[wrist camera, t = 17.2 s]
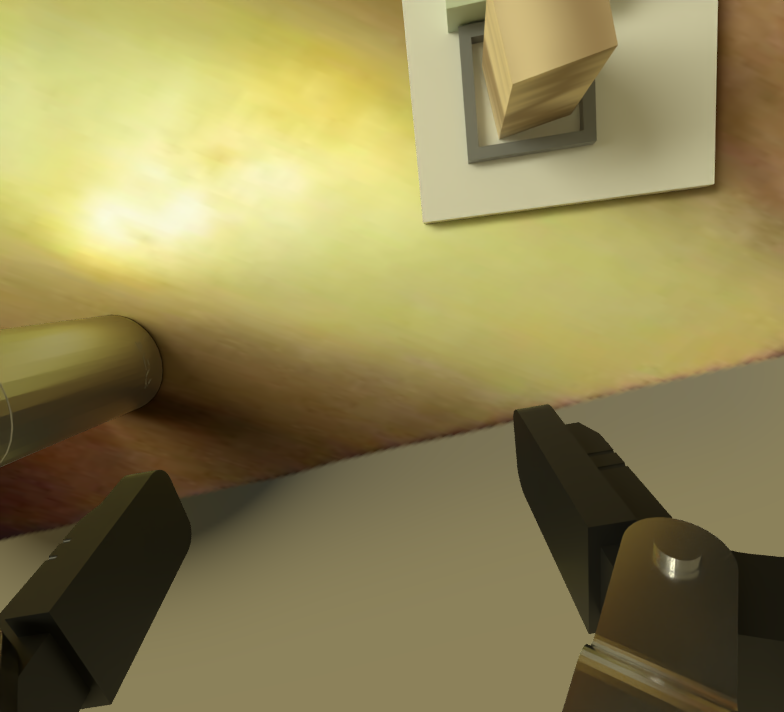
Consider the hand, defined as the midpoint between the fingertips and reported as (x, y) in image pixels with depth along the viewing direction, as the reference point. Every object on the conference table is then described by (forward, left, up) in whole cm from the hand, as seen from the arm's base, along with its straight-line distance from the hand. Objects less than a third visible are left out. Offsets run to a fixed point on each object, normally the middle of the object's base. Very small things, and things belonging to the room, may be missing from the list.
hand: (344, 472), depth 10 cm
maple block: (+8, +16, -26) cm, 32 cm away
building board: (+10, +17, -27) cm, 34 cm away
